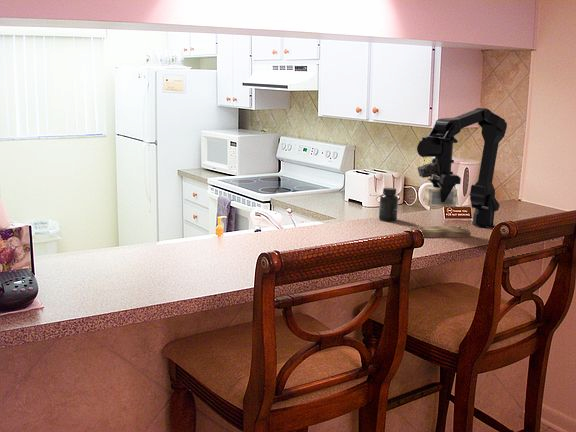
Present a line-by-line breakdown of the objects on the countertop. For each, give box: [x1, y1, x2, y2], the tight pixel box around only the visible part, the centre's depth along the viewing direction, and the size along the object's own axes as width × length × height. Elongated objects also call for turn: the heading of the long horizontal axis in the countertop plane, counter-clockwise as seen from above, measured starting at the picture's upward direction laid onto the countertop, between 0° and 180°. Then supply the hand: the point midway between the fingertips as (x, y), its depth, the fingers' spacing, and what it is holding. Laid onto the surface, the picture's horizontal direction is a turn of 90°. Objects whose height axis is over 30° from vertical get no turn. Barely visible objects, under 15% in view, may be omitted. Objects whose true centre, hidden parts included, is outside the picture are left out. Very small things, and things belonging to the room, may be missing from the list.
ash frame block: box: [423, 186, 458, 208], centre depth 235 cm, size 10×5×6 cm, turn 99°
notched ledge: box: [409, 225, 472, 238], centre depth 235 cm, size 18×10×2 cm, turn 100°
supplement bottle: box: [378, 187, 399, 222], centre depth 256 cm, size 7×7×12 cm
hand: (440, 200), depth 235 cm, fingers closed on ash frame block, 5 cm apart
